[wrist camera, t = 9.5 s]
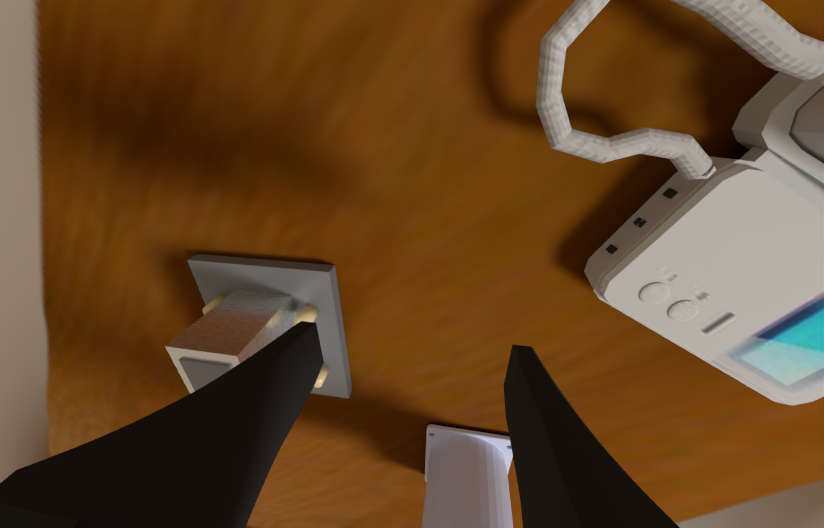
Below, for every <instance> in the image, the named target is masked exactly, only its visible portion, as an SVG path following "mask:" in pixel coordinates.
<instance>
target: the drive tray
mask: <svg viewBox="0 0 824 528" xmlns="http://www.w3.org/2000/svg"><path fill="white" fill-rule="evenodd" d="M187 261H188V264H189V266H190V269H191V271H192V274H193V276H194V278H195V281H196V283H197V286H198V288H199V291H200V293H201V295H202V298H203V300H204V303H205V305H206V306H205V307H204V308H203V310H202V311H203V314H204V315H205V314H206V313H207V312H208V311H209V310H211V309H212V308H213V307H214V306H216V305H217V304H218V303H219V302H221V301H222V300H223V299H224V298H226V297H227V296H228V295H229V294H231V293H232V292H233V291H234V290H244V291H254V292H264V293H274V294H284V295H292V297H293V301H294V305H295V310H296V314H297V316H296V317H295V319H294V321H293V322H294V325H296V324H297V323H299V322H300V321H306V322H315V323H316V325H317V330H318V335H319V340H320V345H321V350H322V355H323V360H324V362H323V365H322V368H321V370H320V373H319V376H318V378H317V380H316V383H315V385H314V387H313V389H312V391H311V393H314V394H321V395H327V396H334V397H341V398H348V399H349V397H350V394H351V392H352V382H351V375H350V368H349V361H348V354H347V347H346V340H345V333H344V326H343V319H342V312H341V305H340V298H339V291H338V283H337V276H336V269H335V265H327V264H315V263H302V262H290V261H278V260H266V259H254V258H242V257H229V256H217V255H205V254H197V255H195V256H193V257H191V258H189V259H188V260H187Z"/></svg>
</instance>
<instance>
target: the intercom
mask: <svg viewBox="0 0 824 528" xmlns="http://www.w3.org/2000/svg"><path fill="white" fill-rule="evenodd" d="M609 1H610V0H575V1H574V2H573V3H572V4H571V5H570V7H569V8H568V9H567V10H566V11H565V12H564V13H563V15H562V16H561V17H560V18H559V19H558V20H557V22H556V23H555V24H554V25H553V26H552V27H551V28H550V30H549V31H548V32H547V33H546V34H545V35H544V37H543V38H542V39H541V46H540V58H539V70H538V83H537V95H536V109H537V111H538V114H539V117H540V120H541V123H542V125H543V128H544V131H545V134H546V136H547V139H548V142H549V145H550V147H551V148H552V149H556V150H559V151H562V152H566V153H569V154H572V155H576V156H579V157H582V158H585V159H589V160H592V161H595V162H599V163H605V162H609V161H612V160H616V159H620V158H624V157H628V156H632V155H636V154H644V155H650V156H656V157H662V158H668V159H670V161H671V162H672V163H673V165H674V166H675V167H676V169H677V170H678V171H677V172H676V173H675V174H674V175H673V176H672V177H671V178H670V179H669V180H668V181H667V182H666V183H665V184H664V185H663V186H662V187H661V188H660V189H659V190H658V191H657V192H656V193H655V194H654V195H653V196H652V197H651V198H650V199H649V200H648V201H647V202H646V203H645V204H644V205H643V206H642V207H641V208H640V209H639V210H638V211H637V212H635V213H634V214H633V215H632V216H631V217H630V218H629V219H628V220H627V221H626V222H625V223H624V224H623V225H622V226H621V227H620V228H619V229H618V230H617V231H616V232H615V233H614V234H613V235H612V236H611V237H610V238H609V239H608V240H607V241H606V242H605V243H604V244H603V245H602V246H601V247H600V248H599V249H598V250H597V251H596V252H595V253H594V254H593V255H592V256H591V257H590V258H589V259H588V261H587V264H586V267H585V270H584V272H585V274H586V276H587V278H588V280H589V282H590V284H591V286H592V288H593V290H594V292H595V293H596V295H597V296H598V298H599V299H600V300H602V301H604V302H605V303H607V304H609V305H611V306H612V307H614V308H616V309H617V310H619V311H621V312H622V313H624V314H626V315H628V316H629V317H631V318H633V319H634V320H636V321H638V322H640V323H641V324H643V325H645V326H646V327H648V328H650V329H651V330H653V331H655V332H657V333H658V334H660V335H662V336H663V337H665V338H667V339H668V340H670V341H672V342H674V343H675V344H677V345H679V346H680V347H682V348H684V349H685V350H687V351H689V352H691V353H692V354H694V355H696V356H697V357H699V358H701V359H703V360H704V361H706V362H708V363H709V364H711V365H713V366H714V367H716V368H718V369H720V370H721V371H723V372H725V373H726V374H728V375H730V376H731V377H733V378H735V379H737V380H738V381H740V382H742V383H743V384H745V385H747V386H749V387H750V388H752V389H754V390H755V391H757V392H759V393H760V394H762V395H764V396H766V397H767V398H769V399H771V400H772V401H774V402H779V403H783V404H788V405H797V404H802V403H808V402H812V401H814V400H817V399H819V398H821V397H823V396H824V42H822V41H819V40H817V39H814V38H811V37H809V36H806V35H804V34H801V33H799V32H798V31H797V30H795V29H794V28H793V27H792V26H791V25H790V24H788V23H787V22H786V21H785V20H784V19H783V18H782V17H780V16H779V15H778V14H777V13H776V12H775V11H773V10H772V9H771V8H770V7H769V6H768V5H766V4H765V3H764V2H763V1H761V0H670V1H672V2H674V3H676V4H678V5H680V6H682V7H684V8H686V9H688V10H690V11H693V12H695V13H697V14H699V15H700V16H702V17H703V18H704V19H706V20H707V21H708V22H709V23H711V24H712V25H713V26H715V27H716V28H717V29H718V30H720V31H721V32H722V33H724V34H725V35H726V36H727V37H729V38H730V39H731V40H733V41H734V42H735V43H736V44H738V45H739V46H740V47H741V48H743V49H744V50H745V51H747V52H748V53H749V54H750V55H752V56H753V57H754V58H755V59H757V60H758V61H759V62H761V63H762V64H763V65H764V66H766V67H768V68H771V69H773V70H776V71H779V72H778V73H777V74H776V75H775V76H774V77H773V78H772V79H771V80H770V81H769V82H768V83H767V84H766V85H765V86H764V87H763V88H762V89H761V90H760V91H759V92H758V93H757V94H756V95H754V96H753V97H752V98H751V99H750V100H749V101H748V102H747V103H746V104H745V105H744V106H743V107H742V108H741V110H740V112H739V114H738V116H737V119H736V121H735V123H734V125H733V127H732V131H733V133H734V136H735V138H736V141H738V142H739V143H740V144H742V145H743V146H745V147H746V148H748V149H749V151H748V152H747V153H746V154H745V155H744V156H742V157H741V158H740V159H739V160H737V159H728V158H719V157H709V156H708V155H707V154H706V153H705V151H704V150H703V149H702V148H701V147H700V145H699V144H698V143H697V142H696V140H695V139H694V138H693V137H692V136H691V135H689V134H683V133H677V132H671V131H666V130H660V129H654V128H648V127H644V128H640V129H637V130H633V131H629V132H626V133H622V134H619V135H615V136H612V137H608V138H606V137H602V136H598V135H594V134H590V133H587V132H583V131H579V130H575V129H571V126H570V122H569V118H568V115H567V111H566V108H565V104H564V101H563V97H562V94H561V84H562V77H563V69H564V62H565V54H566V49H567V47H568V46H569V45H570V44H571V43H572V42H573V41H574V40H575V39H576V37H577V36H578V35H579V34H580V33H581V32H582V31H583V30H584V29H585V27H586V26H587V25H588V24H589V23H590V22H591V21H592V20H593V19H594V18H595V16H596V15H597V14H598V13H599V12H600V11H601V10H602V9H603V8H604V6H605V5H606V4H607V3H608V2H609Z"/></svg>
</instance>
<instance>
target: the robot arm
mask: <svg viewBox="0 0 824 528" xmlns="http://www.w3.org/2000/svg"><path fill="white" fill-rule="evenodd" d="M323 362H324V360H323V355H322V350H321V345H320V340H319V335H318V330H317V325H316V323H315V322H306V321H300V322H299V323H297V324H296V325H294V326H293V327H291V328H290V329H289V330H287V331H286V332H284V333H283V334H282V335H280V336H279V337H277V338H276V339H275V340H273V341H272V342H270V343H269V344H268V345H266V346H265V347H263V348H262V349H261V350H259V351H258V352H256V353H255V354H253V355H252V356H251V357H249V358H248V359H246V360H244V361H243V362H241V363H240V364H238V365H237V366H235V367H234V368H232V369H231V370H229V371H228V372H226V373H224V374H223V375H221V376H220V377H218V378H217V379H215V380H213V381H212V382H210V383H208V384H207V385H205V386H203V387H201V388H200V389H198V390H196V391H194V392H193V393H191V394H189V395H187V396H185V397H184V398H182V399H180V400H178V401H176V402H174V403H172V404H170V405H168V406H166V407H164V408H162V409H160V410H158V411H156V412H154V413H152V414H150V415H148V416H146V417H144V418H142V419H140V420H138V421H136V422H134V423H131V424H129V425H127V426H125V427H123V428H120V429H118V430H116V431H114V432H111V433H109V434H107V435H104V436H102V437H100V438H97V439H95V440H93V441H90V442H88V443H86V444H83V445H81V446H78V447H76V448H73V449H71V450H68V451H65V452H63V453H60V454H58V455H55V456H52V457H50V458H47V459H45V460H42V461H39V462H37V463H35V464H32V465H29V466H26V467H24V468H21V469H18V470H16V471H15V472H14V473H12V474H11V475H10V476H9V477H7V478H6V479H5V480H4V481H3V482H1V483H0V528H245V527H246V524H247V522H248V519H249V517H250V515H251V512H252V510H253V508H254V505H255V503H256V500H257V498H258V496H259V493H260V491H261V488H262V486H263V484H264V482H265V480H266V477H267V475H268V473H269V471H270V468H271V466H272V464H273V462H274V459H275V457H276V455H277V453H278V451H279V449H280V447H281V446H282V444H283V442H284V440H285V438H286V437H287V435H288V433H289V431H290V429H291V428H292V426H293V424H294V422H295V420H296V419H297V417H298V415H299V413H300V411H301V410H302V408H303V406H304V404H305V402H306V400H307V399H308V397H309V395H310V393H311V391H312V389H313V387H314V385H315V383H316V380H317V378H318V376H319V373H320V370H321V368H322V365H323ZM504 396H505V411H506V419H507V425H508V431H509V436H504V435H497V434H491V433H485V432H478V431H472V430H465V429H459V428H452V427H446V426H439V425H433V424H430V425H428V426H427V432H426V458H425V481H426V482H427V483H426V492H425V502H424V511H423V520H422V528H513V522H512V512H511V503H510V494H509V485H508V471H509V468H510V464H511V461H512V457H513V459H514V465H515V470H516V476H517V481H518V487H519V494H520V501H521V509H522V520H523V528H679V527H678V526H677V525H676V524H675V523H674V522H673V521H672V520H671V519H670V518H669V517H668V516H667V515H666V514H665V513H664V512H663V511H662V510H661V509H660V508H659V507H658V506H657V505H656V504H655V503H654V502H653V501H652V500H651V499H650V498H649V497H648V496H647V495H646V494H645V493H644V492H643V490H642V489H641V488H640V487H639V486H638V485H637V484H636V483H635V482H634V481H633V480H632V479H631V478H630V476H629V475H628V474H627V473H626V472H625V471H624V470H623V469H622V468H621V467H620V465H619V464H618V463H617V462H616V461H615V460H614V459H613V457H612V456H611V455H610V454H609V453H608V452H607V451H606V449H605V448H604V447H603V446H602V445H601V443H600V442H599V441H598V440H597V439H596V437H595V436H594V435H593V434H592V432H591V431H590V430H589V429H588V427H587V426H586V425H585V423H584V422H583V421H582V420H581V418H580V417H579V416H578V414H577V413H576V412H575V410H574V409H573V408H572V406H571V405H570V403H569V402H568V401H567V399H566V398H565V397H564V395H563V394H562V392H561V391H560V390H559V388H558V387H557V385H556V384H555V382H554V381H553V379H552V378H551V376H550V375H549V373H548V372H547V370H546V369H545V367H544V365H543V364H542V362H541V361H540V359H539V357H538V356H537V354H536V353H535V351H534V349H533V348H532V347H529V346H520V345H513V346H512V350H511V355H510V359H509V364H508V369H507V373H506V378H505V382H504Z"/></svg>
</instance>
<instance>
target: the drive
mask: <svg viewBox="0 0 824 528" xmlns="http://www.w3.org/2000/svg"><path fill="white" fill-rule="evenodd" d="M296 316H297V314H296V310H295V305H294V301H293V297H292V295H284V294H274V293H264V292H254V291H244V290H234V291H233V292H232V293H231V294H229V295H228V296H227V297H226V298H224V299H223V300H222V301H221V302H219V303H218V304H217V305H216V306H214V307H213V308H212V309H211V310H209V311H208V312H207V313H206V314H205V315H203V316H202V317H201V318H200V319H198V320H197V321H196V322H195V323H193V324H192V325H191V326H190V327H188V328H187V329H186V330H185V331H183V332H182V333H181V334H180V335H178V336H177V337H176V338H175V339H173V340H172V341H171V342H170V343H169V344H167V345H166V346H165V347H166V349H167V351H168V353H169V355H170V357H171V359H172V360H173V362H174V364H175V366H176V368H177V370H178V372H179V374H180V376H181V377H182V379H183V381H184V383H185V385H186V387H187V389H188V391H189V392H190V394H191V393H193V392H194V391H196V390H198V389H200V388H201V387H203V386H205V385H207V384H208V383H210V382H212V381H213V380H215V379H217V378H218V377H220V376H221V375H223V374H224V373H226V372H228V371H229V370H231V369H232V368H234V367H235V366H237V365H238V364H240V363H241V362H243V361H244V360H246V359H248V358H249V357H251V356H252V355H253V354H255V353H256V352H258V351H259V350H261V349H262V348H263V347H265V346H266V345H268V344H269V343H270V342H272V341H273V340H275V339H276V338H277V337H279V336H280V335H282V334H283V333H284V332H286V331H287V330H289V329H290V328H291V327H293V326H294V322H293V321H294V319H295V317H296Z"/></svg>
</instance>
